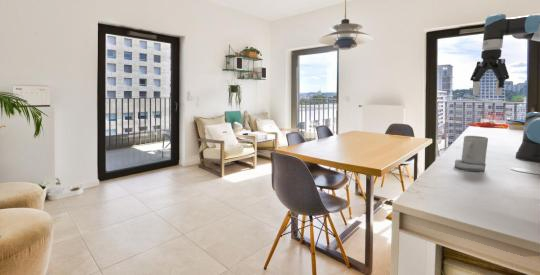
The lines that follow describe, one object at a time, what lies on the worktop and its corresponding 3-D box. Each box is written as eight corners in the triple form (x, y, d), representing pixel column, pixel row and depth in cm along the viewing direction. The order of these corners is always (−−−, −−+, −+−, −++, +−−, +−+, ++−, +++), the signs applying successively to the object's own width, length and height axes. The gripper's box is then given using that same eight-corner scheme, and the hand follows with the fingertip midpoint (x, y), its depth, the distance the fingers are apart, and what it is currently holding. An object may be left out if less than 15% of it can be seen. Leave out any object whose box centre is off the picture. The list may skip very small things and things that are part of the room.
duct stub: (471, 165, 131) (472, 158, 130) (491, 172, 120) (492, 165, 119) (448, 165, 130) (449, 159, 130) (466, 172, 119) (467, 165, 119)
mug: (466, 158, 130) (469, 135, 129) (488, 162, 123) (491, 137, 122) (454, 162, 124) (456, 137, 122) (476, 166, 117) (479, 140, 115)
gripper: (464, 53, 147) (460, 94, 150) (507, 45, 122) (500, 95, 126) (478, 53, 147) (474, 94, 151) (523, 45, 123) (517, 95, 126)
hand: (486, 94), depth 138 cm, fingers open, 13 cm apart
